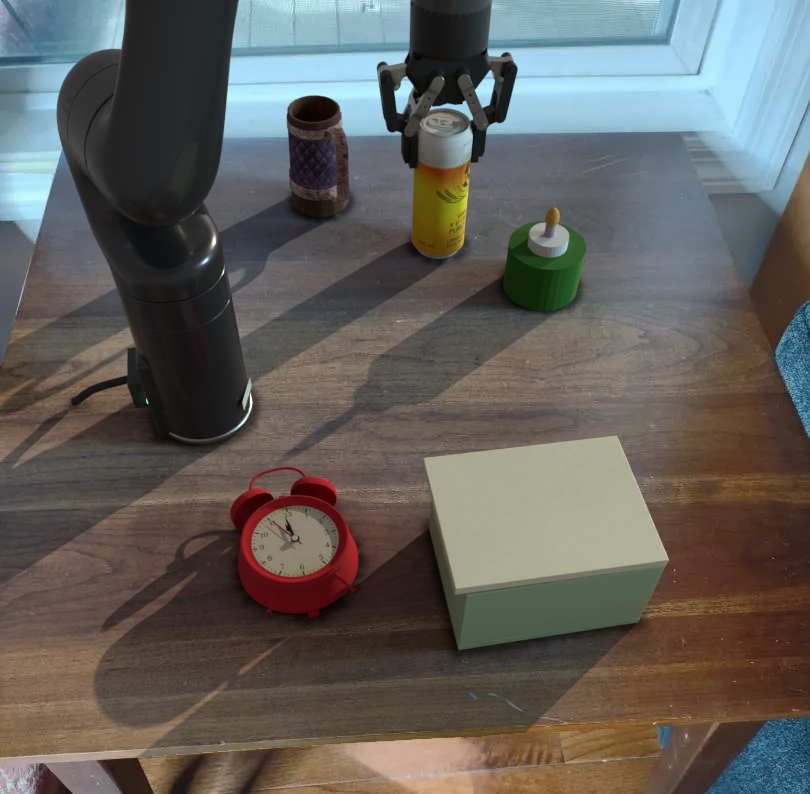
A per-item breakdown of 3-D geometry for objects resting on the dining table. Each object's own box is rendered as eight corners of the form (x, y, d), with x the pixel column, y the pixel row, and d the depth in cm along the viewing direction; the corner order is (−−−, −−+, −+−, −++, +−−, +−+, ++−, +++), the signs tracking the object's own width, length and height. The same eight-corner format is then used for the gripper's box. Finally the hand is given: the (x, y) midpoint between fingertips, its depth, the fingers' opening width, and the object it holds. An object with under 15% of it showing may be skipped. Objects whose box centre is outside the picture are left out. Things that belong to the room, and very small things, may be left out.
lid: (454, 595, 64) (455, 589, 63) (422, 464, 71) (423, 457, 70) (666, 566, 66) (669, 560, 65) (614, 441, 73) (616, 435, 72)
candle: (488, 280, 98) (497, 202, 89) (542, 253, 101) (556, 175, 92) (536, 321, 94) (551, 243, 86) (591, 291, 97) (611, 213, 89)
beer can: (458, 265, 99) (469, 141, 87) (406, 257, 100) (409, 133, 87) (467, 233, 103) (478, 109, 90) (416, 226, 103) (421, 102, 91)
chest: (458, 650, 71) (466, 595, 64) (428, 527, 78) (433, 465, 71) (638, 622, 73) (666, 566, 66) (593, 504, 80) (614, 442, 73)
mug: (282, 194, 106) (271, 97, 96) (334, 178, 108) (329, 83, 98) (317, 240, 101) (309, 144, 91) (371, 223, 103) (369, 127, 93)
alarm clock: (249, 619, 68) (209, 455, 73) (255, 640, 74) (218, 487, 79) (375, 586, 70) (328, 429, 75) (372, 610, 76) (328, 462, 81)
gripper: (517, -32, 82) (498, 136, 95) (367, -23, 80) (370, 147, 94) (538, 5, 77) (515, 176, 91) (380, 16, 76) (381, 188, 90)
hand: (442, 161), depth 92 cm, fingers closed on beer can, 6 cm apart
